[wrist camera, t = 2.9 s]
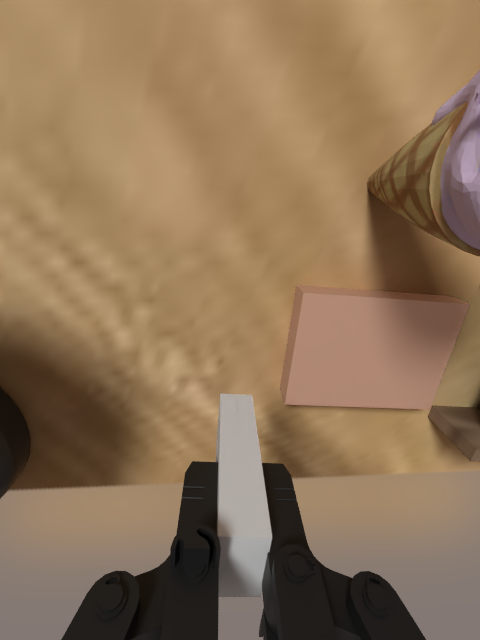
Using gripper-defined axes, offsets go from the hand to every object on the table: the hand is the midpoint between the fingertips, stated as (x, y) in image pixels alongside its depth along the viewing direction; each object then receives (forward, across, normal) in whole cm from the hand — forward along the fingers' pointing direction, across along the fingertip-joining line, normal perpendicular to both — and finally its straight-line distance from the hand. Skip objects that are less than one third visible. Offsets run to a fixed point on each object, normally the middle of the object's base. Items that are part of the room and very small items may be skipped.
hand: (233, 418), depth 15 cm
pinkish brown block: (+10, +10, 0) cm, 14 cm away
